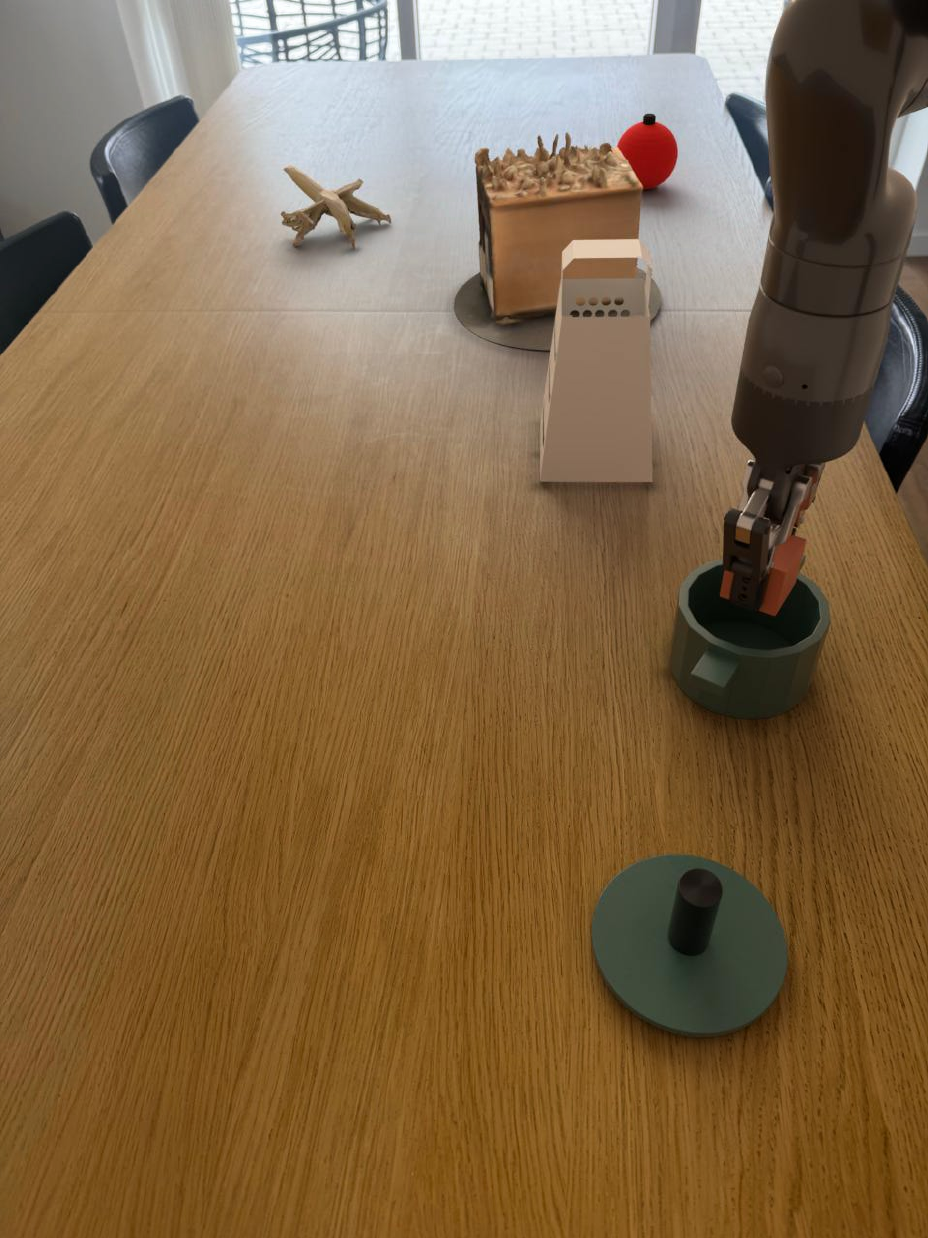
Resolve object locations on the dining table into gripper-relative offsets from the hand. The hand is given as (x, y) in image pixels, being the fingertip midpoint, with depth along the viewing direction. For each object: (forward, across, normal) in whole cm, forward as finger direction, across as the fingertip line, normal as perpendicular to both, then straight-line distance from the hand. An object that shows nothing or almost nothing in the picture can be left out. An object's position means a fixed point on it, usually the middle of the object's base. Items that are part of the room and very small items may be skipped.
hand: (758, 584), depth 67 cm
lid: (+8, -23, -6) cm, 25 cm away
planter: (+9, +46, +42) cm, 63 cm away
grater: (+9, +20, +23) cm, 32 cm away
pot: (+8, 0, 0) cm, 8 cm away
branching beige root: (+9, +49, +80) cm, 94 cm away
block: (0, 0, 0) cm, 0 cm away
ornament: (+9, +84, +49) cm, 98 cm away
